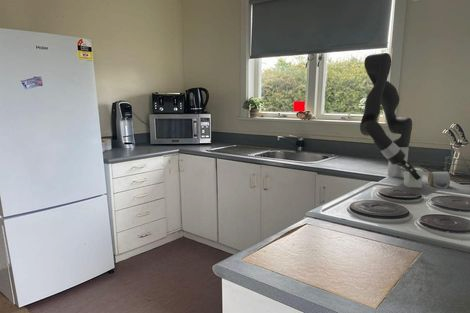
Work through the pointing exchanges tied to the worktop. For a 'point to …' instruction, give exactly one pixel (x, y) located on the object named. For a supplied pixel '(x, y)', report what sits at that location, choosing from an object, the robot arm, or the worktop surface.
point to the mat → (416, 189)
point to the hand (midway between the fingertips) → (415, 176)
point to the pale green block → (410, 180)
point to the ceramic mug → (439, 179)
